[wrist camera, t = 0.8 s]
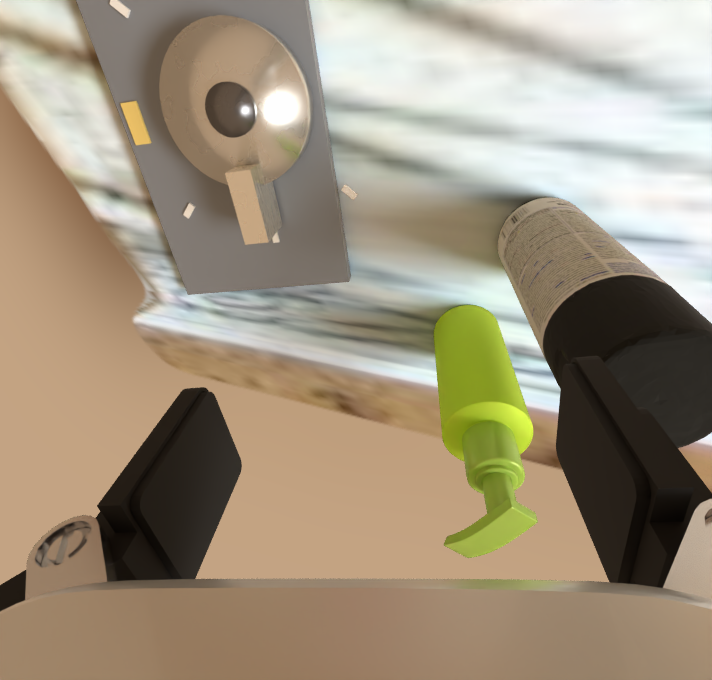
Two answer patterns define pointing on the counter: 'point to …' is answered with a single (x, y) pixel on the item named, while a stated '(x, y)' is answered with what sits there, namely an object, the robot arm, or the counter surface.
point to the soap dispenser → (483, 424)
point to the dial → (238, 112)
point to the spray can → (610, 314)
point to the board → (195, 189)
